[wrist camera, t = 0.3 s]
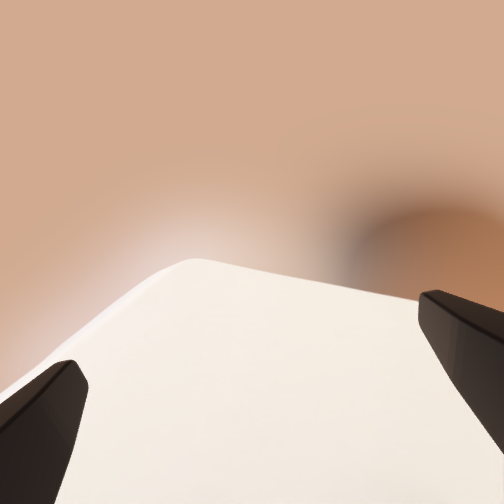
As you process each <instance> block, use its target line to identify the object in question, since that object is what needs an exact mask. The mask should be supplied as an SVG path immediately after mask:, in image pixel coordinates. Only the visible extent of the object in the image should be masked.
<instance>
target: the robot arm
mask: <svg viewBox="0 0 504 504" xmlns="http://www.w3.org/2000/svg"><path fill="white" fill-rule="evenodd" d="M418 321H419V325H420V328H421V330H422V331H423V333H424V335H425V337H426V338H427V340H428V342H429V344H430V345H431V347H432V349H433V350H434V352H435V354H436V356H437V357H438V359H439V361H440V363H441V364H442V366H443V368H444V370H445V371H446V373H447V375H448V376H449V378H450V380H451V381H452V383H453V384H454V386H455V387H456V389H457V390H458V392H459V393H460V394H461V396H462V397H463V399H464V400H465V401H466V403H467V404H468V406H469V407H470V408H471V410H472V411H473V412H474V414H475V415H476V417H477V418H478V419H479V421H480V422H481V424H482V425H483V426H484V428H485V429H486V430H487V432H488V433H489V435H490V436H491V437H492V439H493V440H494V442H495V443H496V444H497V446H498V447H499V449H500V450H501V451H502V453H503V454H504V312H500V311H498V310H495V309H492V308H489V307H486V306H484V305H481V304H478V303H475V302H472V301H469V300H466V299H464V298H461V297H458V296H455V295H452V294H449V293H446V292H444V291H441V290H431V291H426V292H422V293H421V294H420V296H419V309H418ZM87 394H88V382H87V380H86V378H85V376H84V374H83V373H82V371H81V369H80V368H79V366H78V364H77V363H76V362H75V361H74V360H66V361H61V362H57V363H55V364H53V365H52V366H51V367H49V368H48V369H47V370H45V371H44V372H43V373H41V374H40V375H39V376H37V377H36V378H35V379H33V380H32V381H31V382H29V383H28V384H27V385H25V386H24V387H22V388H21V389H20V390H18V391H17V392H16V393H14V394H13V395H12V396H10V397H9V398H8V399H6V400H5V401H4V402H2V403H1V404H0V504H54V503H55V500H56V498H57V495H58V492H59V489H60V486H61V484H62V481H63V478H64V475H65V472H66V469H67V467H68V464H69V461H70V458H71V455H72V452H73V448H74V445H75V441H76V437H77V433H78V429H79V425H80V421H81V418H82V414H83V410H84V406H85V402H86V398H87Z"/></svg>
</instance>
